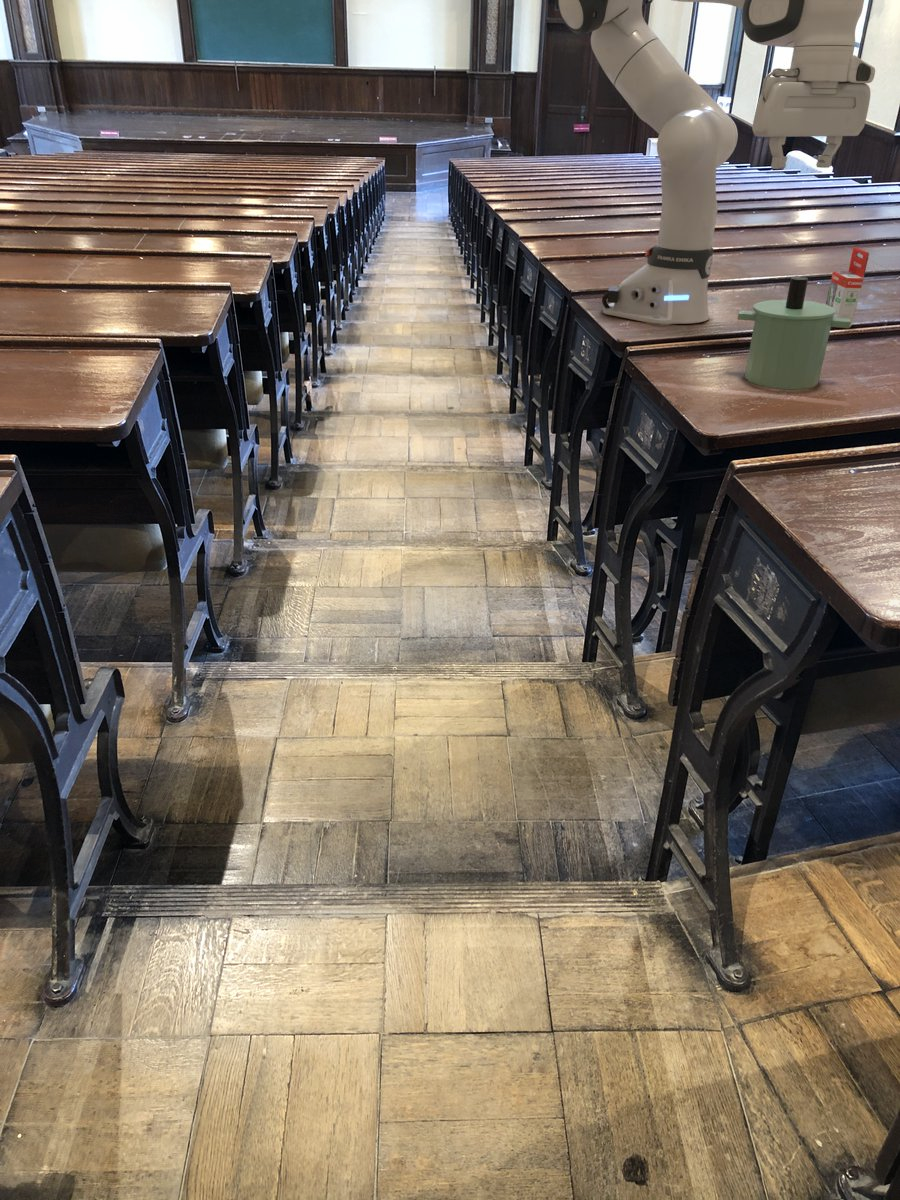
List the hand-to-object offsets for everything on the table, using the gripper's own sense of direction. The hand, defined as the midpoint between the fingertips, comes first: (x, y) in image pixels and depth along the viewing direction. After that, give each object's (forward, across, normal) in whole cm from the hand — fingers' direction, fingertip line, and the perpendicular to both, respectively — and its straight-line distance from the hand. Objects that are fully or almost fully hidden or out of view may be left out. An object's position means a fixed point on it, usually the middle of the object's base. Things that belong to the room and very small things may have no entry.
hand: (800, 168), depth 141 cm
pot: (+31, -8, -13) cm, 35 cm away
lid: (+20, -8, -13) cm, 25 cm away
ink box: (+31, +33, +17) cm, 49 cm away
